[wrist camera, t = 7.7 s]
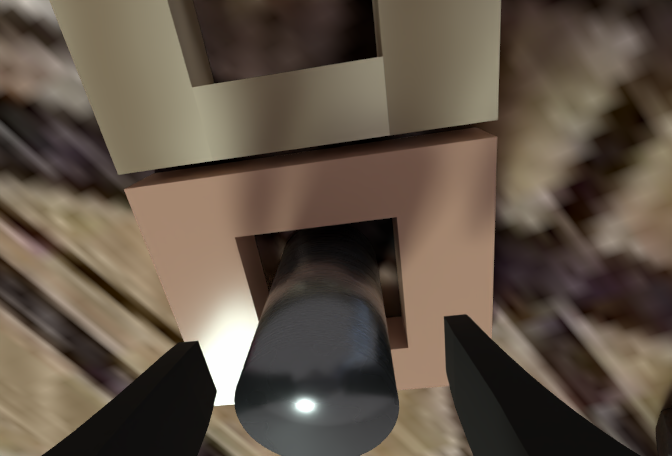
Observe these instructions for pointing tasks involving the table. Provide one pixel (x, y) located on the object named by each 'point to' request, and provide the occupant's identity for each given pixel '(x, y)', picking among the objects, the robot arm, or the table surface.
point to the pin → (321, 352)
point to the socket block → (324, 210)
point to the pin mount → (275, 81)
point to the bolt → (664, 433)
